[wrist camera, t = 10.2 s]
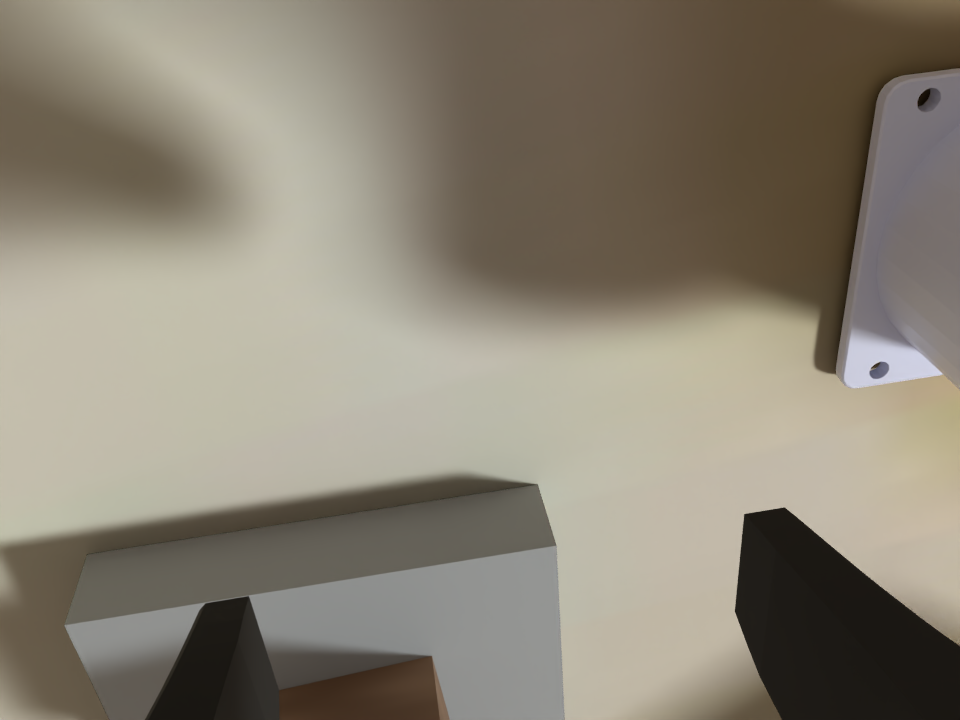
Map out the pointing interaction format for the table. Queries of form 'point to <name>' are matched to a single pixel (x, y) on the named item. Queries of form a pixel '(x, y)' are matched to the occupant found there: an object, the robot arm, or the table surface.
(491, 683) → the slate block
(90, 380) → the table surface
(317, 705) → the walnut block
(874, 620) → the robot arm
